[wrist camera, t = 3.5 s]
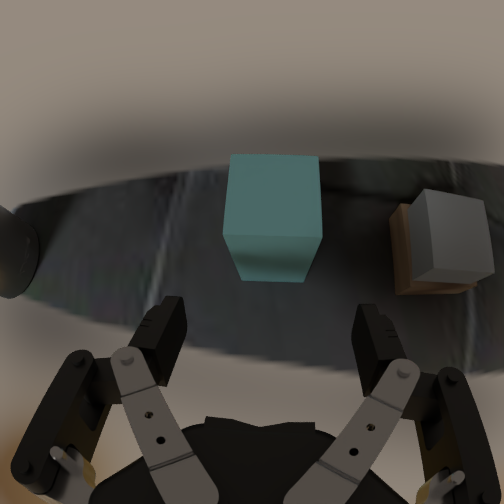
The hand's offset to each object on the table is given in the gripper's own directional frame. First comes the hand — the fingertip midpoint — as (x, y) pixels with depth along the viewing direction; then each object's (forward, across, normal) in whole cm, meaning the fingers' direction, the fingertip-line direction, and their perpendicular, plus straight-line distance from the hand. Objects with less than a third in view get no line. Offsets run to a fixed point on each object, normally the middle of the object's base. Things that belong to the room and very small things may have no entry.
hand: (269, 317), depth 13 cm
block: (+12, 0, +3) cm, 12 cm away
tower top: (+10, -14, +1) cm, 17 cm away
